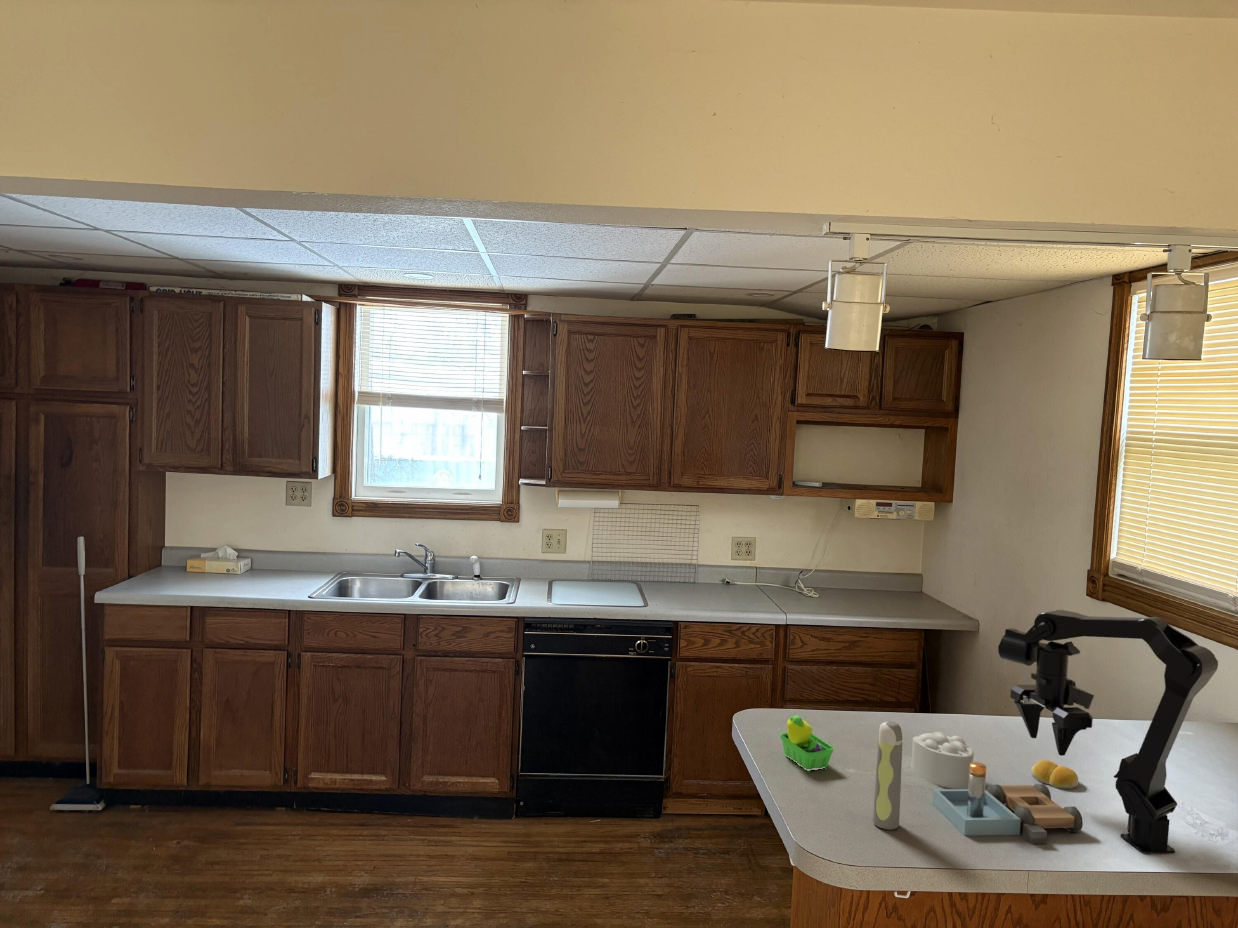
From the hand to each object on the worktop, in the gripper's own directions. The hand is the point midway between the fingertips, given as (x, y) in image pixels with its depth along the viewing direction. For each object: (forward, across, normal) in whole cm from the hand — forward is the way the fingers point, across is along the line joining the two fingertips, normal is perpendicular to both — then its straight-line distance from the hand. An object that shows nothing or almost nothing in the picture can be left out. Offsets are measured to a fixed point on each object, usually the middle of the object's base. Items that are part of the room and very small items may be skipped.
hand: (1047, 746), depth 174 cm
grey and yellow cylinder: (+12, -7, +38) cm, 40 cm away
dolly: (+12, -8, +7) cm, 16 cm away
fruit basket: (+12, +22, +44) cm, 50 cm away
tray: (+12, -6, +19) cm, 23 cm away
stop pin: (+11, -6, +19) cm, 22 cm away
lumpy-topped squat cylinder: (+12, +14, +15) cm, 23 cm away
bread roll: (+12, +10, -10) cm, 19 cm away
